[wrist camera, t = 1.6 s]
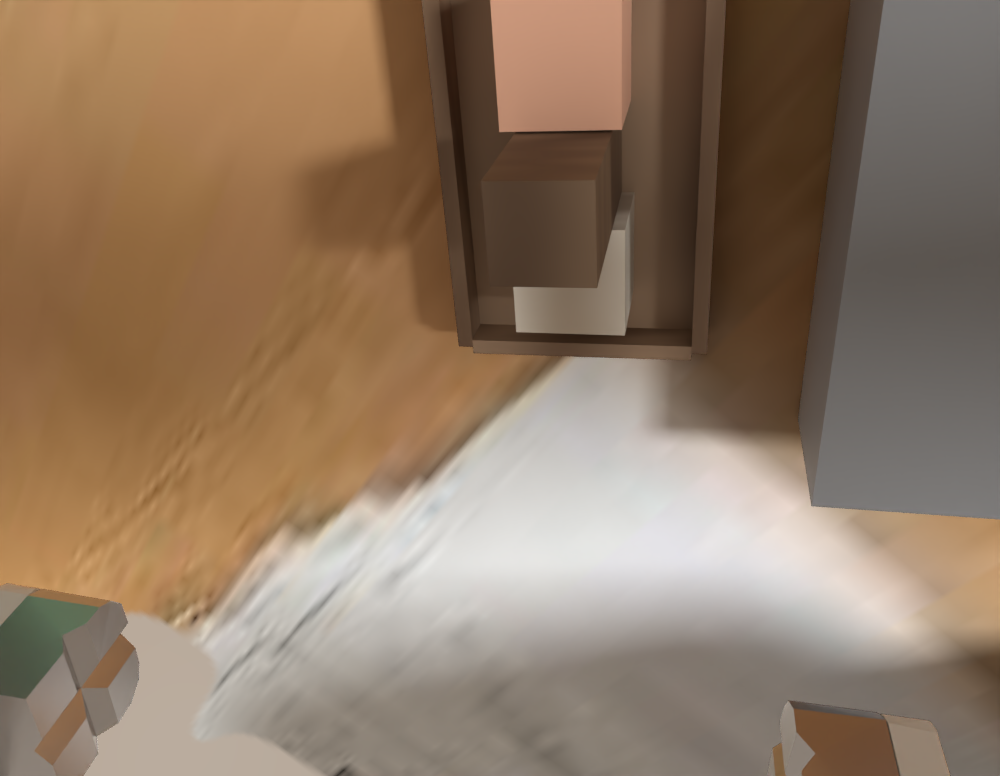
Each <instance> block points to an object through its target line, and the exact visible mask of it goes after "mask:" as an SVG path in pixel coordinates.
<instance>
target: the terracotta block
mask: <svg viewBox="0 0 1000 776" xmlns="http://www.w3.org/2000/svg"><path fill="white" fill-rule="evenodd" d="M490 5H491V20H492V34H493V49H494V63H495V78H496V92H497V106H498V121H499V132H530V131H588V130H622V127H623V124H624V121H625V118H626V115H627V112H628V108H629V105H630V102H631V33H632V0H490Z"/></svg>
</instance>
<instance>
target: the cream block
mask: <svg viewBox="0 0 1000 776" xmlns="http://www.w3.org/2000/svg"><path fill="white" fill-rule="evenodd" d="M513 290H514V305H515V319H516V332H529V333H560V334H591V335H622V336H625V332H626V327H627V322H628V317H629V311H630V306H631V301H632V296H633V291H634V192H622V193H621V197H620V201H619V205H618V208H617V212H616V216H615V220H614V224H613V228H612V232H611V236H610V240H609V244H608V248H607V251H606V255H605V259H604V263H603V267H602V271H601V275H600V279H599V283H598V287H597V288H551V287H513Z"/></svg>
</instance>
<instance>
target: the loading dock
mask: <svg viewBox="0 0 1000 776" xmlns="http://www.w3.org/2000/svg"><path fill="white" fill-rule="evenodd" d="M798 422H799V429H800V435H801V442H802V448H803V454H804V461H805V467H806V474H807V480H808V486H809V493H810V499H811V506H817V507H831V508H845V509H859V510H874V511H888V512H902V513H916V514H930V515H945V516H959V517H973V518H987V519H1000V0H850V8H849V16H848V24H847V32H846V40H845V48H844V56H843V64H842V72H841V80H840V88H839V96H838V104H837V112H836V120H835V128H834V136H833V144H832V152H831V160H830V168H829V176H828V184H827V192H826V200H825V208H824V216H823V224H822V232H821V240H820V248H819V256H818V264H817V272H816V280H815V288H814V296H813V304H812V312H811V320H810V328H809V336H808V343H807V351H806V359H805V367H804V375H803V383H802V391H801V399H800V407H799V415H798Z"/></svg>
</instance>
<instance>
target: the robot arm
mask: <svg viewBox="0 0 1000 776" xmlns="http://www.w3.org/2000/svg"><path fill="white" fill-rule="evenodd" d="M127 624H128V621H127V618H126V615H125V612H124V610H123V607H122V604H120V603H117V602H113V601H108V600H103V599H97V598H92V597H86V596H80V595H75V594H69V593H63V592H58V591H52V590H47V589H39V588H33V587H27V586H21V585H15V584H9V583H6V584H4V585H2V586H0V776H84V774H85V773H86V771H87V770H88V768H89V767H90V765H91V764H92V762H93V761H94V759H95V758H96V756H97V755H98V744H97V736H98V735H100V734H101V733H103V732H104V731H106V730H108V729H109V728H111V727H113V726H114V725H116V724H118V723H119V721H120V720H121V718H122V717H123V715H124V713H125V712H126V710H127V709H128V707H129V706H130V704H131V702H132V699H133V696H134V693H135V689H136V687H137V683H138V680H139V660H138V656H137V652H136V649H135V647H134V646H133V645H132V644H131V643H130V642H129V641H128V640H127V639H126V638H125V637H123V636H122V635H121V632H122V631H123V629H124V628H125V627H126V625H127ZM780 732H781V741H782V743H780V744H778V745H777V746H775V747H774V748H773V749H772V753H771V758H770V762H769V767H768V775H767V776H950V772H949V769H948V766H947V763H946V759H945V756H944V753H943V749H942V746H941V743H940V739H939V736H938V733H937V729H936V728H935V727H934V726H933V724H932V723H931V722H930V721H928V720H921V719H914V718H908V717H901V716H894V715H887V714H880V715H879V714H878V713H877V712H870V711H863V710H856V709H848V708H841V707H834V706H826V705H819V704H812V703H804V702H797V701H790V700H788V701H787V703H786V704H785V706H784V708H783V712H782V715H781V719H780Z"/></svg>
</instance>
